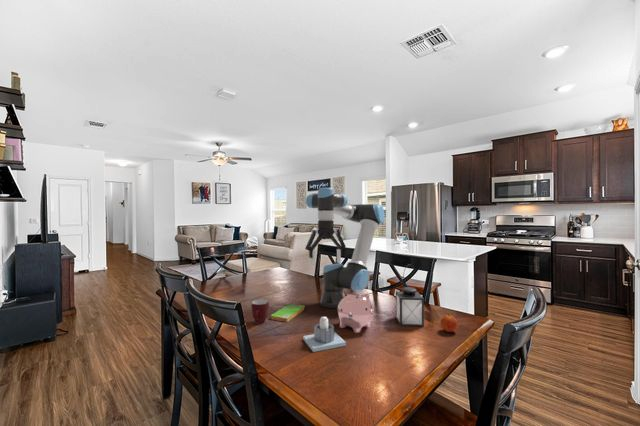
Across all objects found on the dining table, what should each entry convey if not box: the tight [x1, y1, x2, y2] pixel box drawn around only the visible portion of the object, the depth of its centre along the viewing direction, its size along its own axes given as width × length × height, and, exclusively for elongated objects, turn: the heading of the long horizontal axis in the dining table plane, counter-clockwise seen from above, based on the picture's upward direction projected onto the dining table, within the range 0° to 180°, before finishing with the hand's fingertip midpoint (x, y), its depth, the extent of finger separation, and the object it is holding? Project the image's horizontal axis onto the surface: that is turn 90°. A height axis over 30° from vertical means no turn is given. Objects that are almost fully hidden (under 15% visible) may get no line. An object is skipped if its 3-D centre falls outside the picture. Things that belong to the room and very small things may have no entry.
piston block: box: [302, 316, 347, 353], centre depth 121 cm, size 14×12×10 cm
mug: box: [251, 299, 269, 325], centre depth 142 cm, size 11×8×10 cm
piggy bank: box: [337, 292, 375, 334], centre depth 137 cm, size 15×18×16 cm
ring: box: [313, 322, 335, 343], centre depth 121 cm, size 8×8×5 cm
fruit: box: [440, 313, 458, 333], centre depth 131 cm, size 7×7×8 cm
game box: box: [270, 303, 305, 323], centre depth 155 cm, size 3×10×20 cm
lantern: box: [395, 264, 425, 327], centre depth 143 cm, size 11×11×28 cm
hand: (326, 263), depth 142 cm, fingers open, 13 cm apart
